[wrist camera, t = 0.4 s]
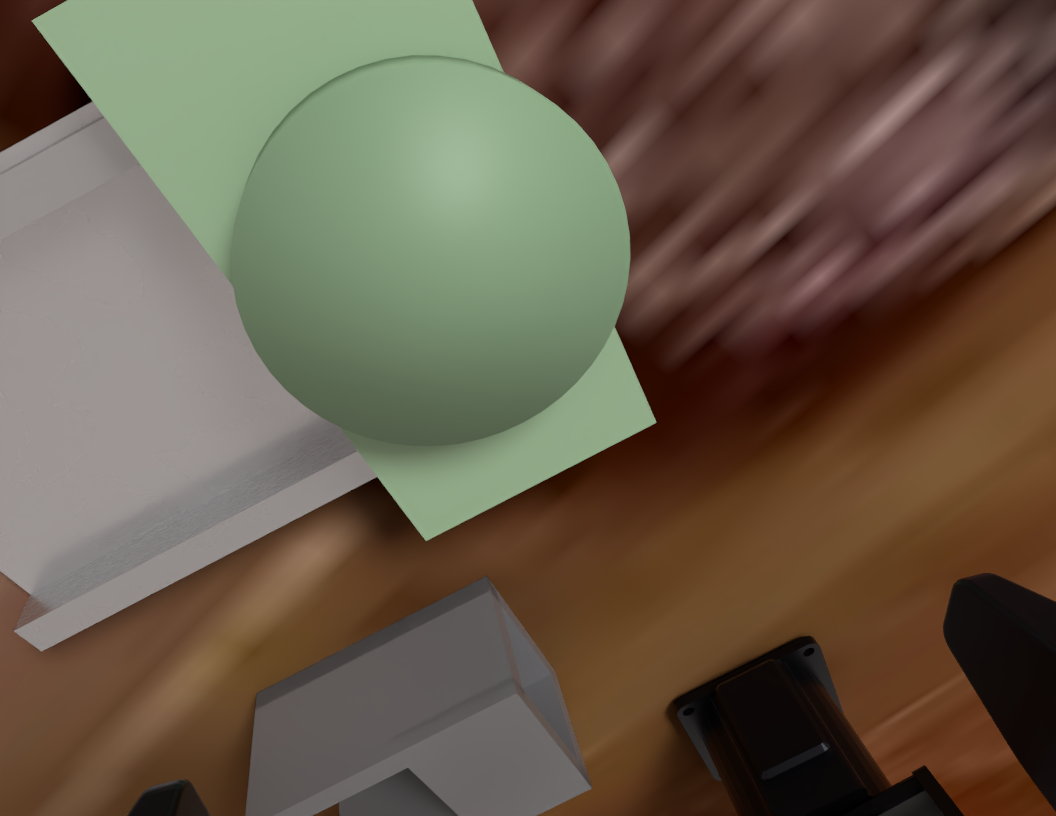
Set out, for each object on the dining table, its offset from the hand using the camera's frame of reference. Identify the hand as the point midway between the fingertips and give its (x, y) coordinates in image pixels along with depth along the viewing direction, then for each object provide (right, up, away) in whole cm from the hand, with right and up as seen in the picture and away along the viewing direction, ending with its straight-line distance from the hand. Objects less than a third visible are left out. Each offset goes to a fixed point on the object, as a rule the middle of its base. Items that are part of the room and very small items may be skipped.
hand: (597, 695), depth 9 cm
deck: (-8, +6, +11) cm, 15 cm away
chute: (-5, -7, +19) cm, 21 cm away
